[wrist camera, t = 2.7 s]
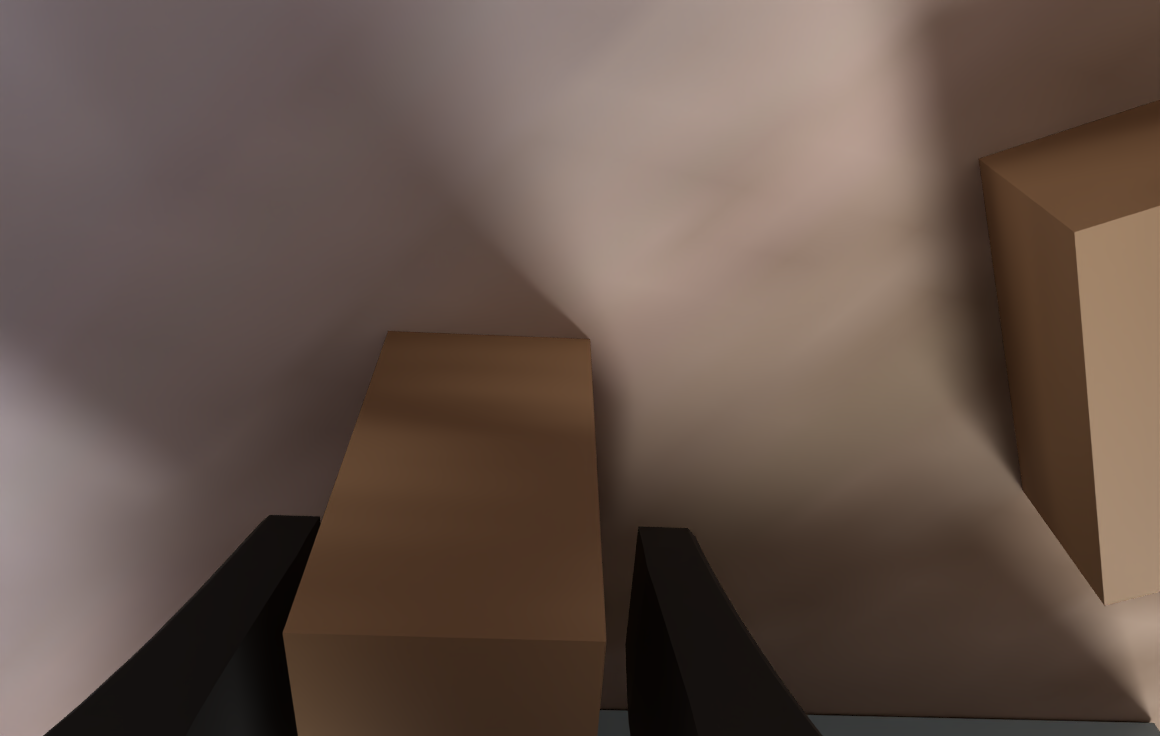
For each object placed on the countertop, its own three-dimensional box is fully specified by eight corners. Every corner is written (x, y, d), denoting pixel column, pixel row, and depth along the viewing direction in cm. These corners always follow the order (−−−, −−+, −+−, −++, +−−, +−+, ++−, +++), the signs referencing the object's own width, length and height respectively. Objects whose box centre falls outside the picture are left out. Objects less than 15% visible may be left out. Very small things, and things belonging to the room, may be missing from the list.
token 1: (406, 645, 14) (338, 1002, 10) (388, 329, 11) (282, 632, 7) (568, 649, 14) (571, 1003, 10) (589, 337, 11) (606, 642, 7)
